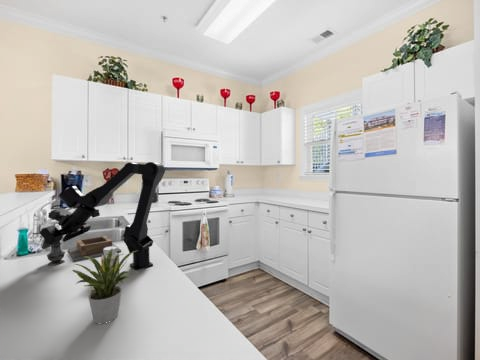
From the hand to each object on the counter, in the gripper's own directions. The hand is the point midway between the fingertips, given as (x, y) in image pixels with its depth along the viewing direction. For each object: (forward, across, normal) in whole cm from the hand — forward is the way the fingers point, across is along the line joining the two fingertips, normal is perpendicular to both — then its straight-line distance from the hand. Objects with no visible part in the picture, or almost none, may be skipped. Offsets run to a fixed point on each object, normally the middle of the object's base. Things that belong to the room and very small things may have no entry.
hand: (53, 244), depth 94 cm
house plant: (-25, +30, +35) cm, 53 cm away
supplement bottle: (-16, +9, +26) cm, 32 cm away
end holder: (0, -14, +10) cm, 17 cm away
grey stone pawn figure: (+5, 0, +6) cm, 7 cm away
